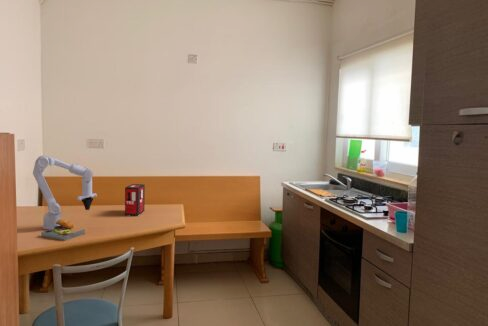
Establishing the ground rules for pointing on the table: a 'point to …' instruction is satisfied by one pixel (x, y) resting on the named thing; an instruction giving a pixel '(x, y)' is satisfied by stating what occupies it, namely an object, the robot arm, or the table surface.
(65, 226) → the cheeseburger
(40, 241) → the table surface
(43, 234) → the rack
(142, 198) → the cleaning product box
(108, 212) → the table surface
